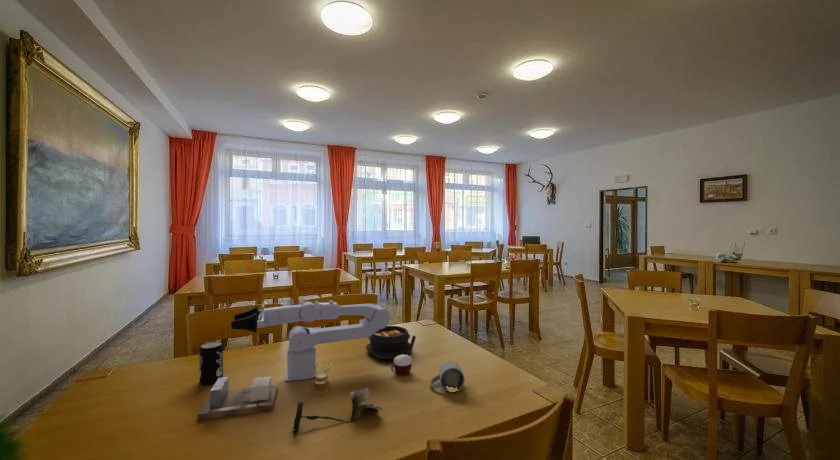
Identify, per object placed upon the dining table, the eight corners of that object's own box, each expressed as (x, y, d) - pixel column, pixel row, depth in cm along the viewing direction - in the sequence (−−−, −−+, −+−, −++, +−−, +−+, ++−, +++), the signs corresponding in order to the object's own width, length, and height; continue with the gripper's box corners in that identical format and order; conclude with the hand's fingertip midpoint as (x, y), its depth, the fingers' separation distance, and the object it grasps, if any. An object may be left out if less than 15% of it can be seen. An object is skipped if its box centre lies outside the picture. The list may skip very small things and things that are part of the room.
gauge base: (277, 389, 105) (277, 384, 105) (272, 410, 93) (272, 404, 93) (211, 397, 100) (211, 392, 100) (197, 420, 88) (197, 414, 88)
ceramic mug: (460, 380, 112) (460, 357, 112) (464, 393, 104) (464, 368, 104) (428, 381, 112) (428, 358, 111) (430, 394, 103) (430, 369, 103)
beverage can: (211, 386, 106) (211, 348, 106) (194, 384, 108) (194, 347, 107) (227, 377, 113) (227, 341, 112) (210, 375, 114) (210, 340, 114)
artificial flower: (292, 425, 89) (298, 383, 92) (377, 422, 95) (380, 384, 98) (290, 435, 81) (296, 389, 84) (383, 432, 87) (386, 389, 89)
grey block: (228, 393, 99) (228, 376, 99) (220, 408, 91) (220, 389, 91) (218, 394, 98) (218, 377, 98) (210, 409, 91) (210, 390, 90)
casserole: (416, 362, 127) (417, 340, 127) (366, 365, 124) (367, 342, 124) (407, 339, 152) (407, 321, 151) (365, 342, 148) (365, 323, 148)
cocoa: (392, 378, 114) (391, 344, 113) (389, 370, 120) (388, 337, 119) (419, 375, 116) (418, 340, 115) (415, 366, 122) (414, 334, 121)
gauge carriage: (271, 389, 101) (271, 376, 101) (266, 404, 93) (266, 389, 93) (245, 392, 99) (245, 379, 99) (238, 407, 91) (238, 393, 91)
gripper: (278, 298, 119) (234, 303, 113) (278, 309, 105) (229, 315, 100) (279, 318, 119) (236, 324, 114) (280, 331, 106) (230, 338, 100)
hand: (233, 321), depth 107 cm, fingers open, 7 cm apart
